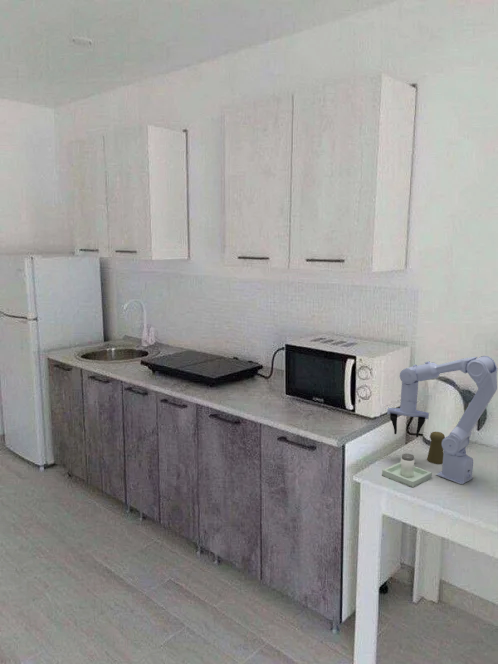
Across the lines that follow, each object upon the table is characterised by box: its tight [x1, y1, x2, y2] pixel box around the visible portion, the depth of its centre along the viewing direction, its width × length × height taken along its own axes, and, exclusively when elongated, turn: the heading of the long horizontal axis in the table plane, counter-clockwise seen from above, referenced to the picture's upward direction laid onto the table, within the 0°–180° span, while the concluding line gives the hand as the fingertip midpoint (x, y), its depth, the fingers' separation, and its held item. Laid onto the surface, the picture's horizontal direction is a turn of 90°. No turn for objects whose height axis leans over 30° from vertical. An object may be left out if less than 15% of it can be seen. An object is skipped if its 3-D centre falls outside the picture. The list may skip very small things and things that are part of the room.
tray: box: [381, 461, 433, 488], centre depth 181 cm, size 12×12×2 cm
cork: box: [426, 431, 446, 465], centre depth 195 cm, size 6×6×11 cm
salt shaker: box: [400, 453, 415, 478], centre depth 181 cm, size 4×4×7 cm
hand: (406, 434), depth 192 cm, fingers open, 7 cm apart
